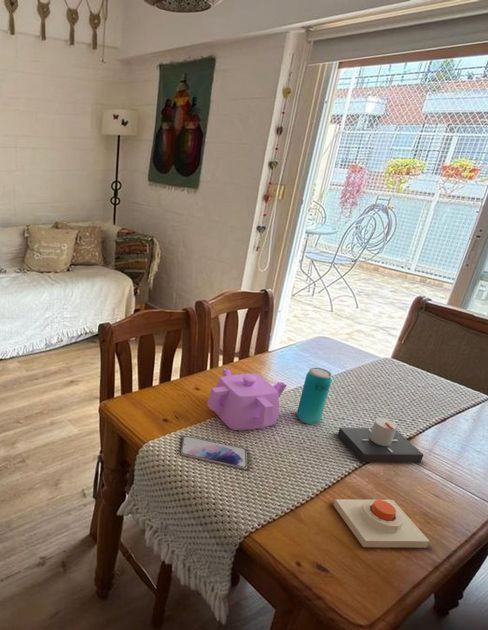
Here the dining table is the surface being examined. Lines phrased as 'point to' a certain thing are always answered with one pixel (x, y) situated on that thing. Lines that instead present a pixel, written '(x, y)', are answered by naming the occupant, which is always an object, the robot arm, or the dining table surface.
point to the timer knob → (383, 431)
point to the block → (379, 525)
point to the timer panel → (379, 447)
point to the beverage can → (314, 395)
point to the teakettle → (245, 401)
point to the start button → (383, 510)
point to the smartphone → (214, 452)
